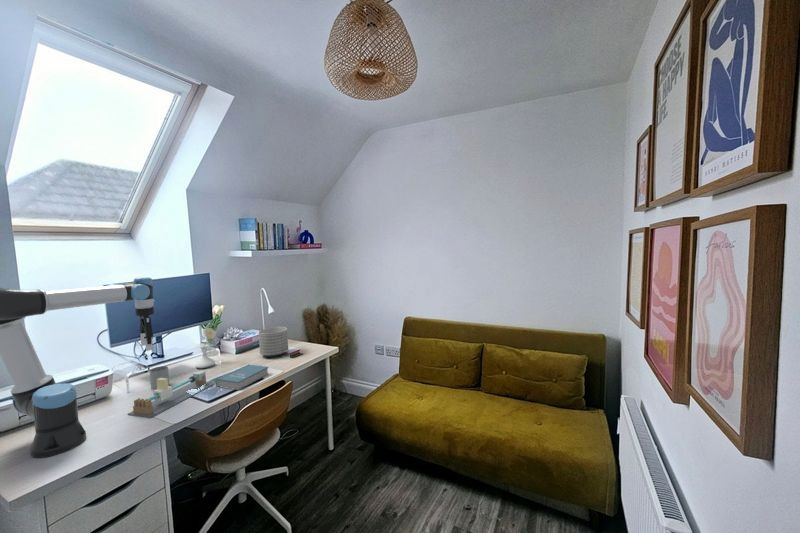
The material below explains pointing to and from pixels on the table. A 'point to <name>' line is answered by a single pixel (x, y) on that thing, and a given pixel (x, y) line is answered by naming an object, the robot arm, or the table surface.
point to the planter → (273, 341)
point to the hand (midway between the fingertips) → (146, 347)
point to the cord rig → (156, 407)
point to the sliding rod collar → (163, 389)
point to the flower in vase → (205, 360)
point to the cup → (158, 375)
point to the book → (242, 377)
